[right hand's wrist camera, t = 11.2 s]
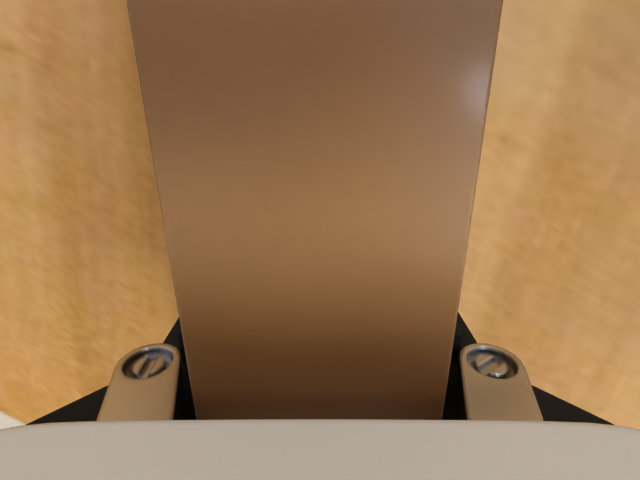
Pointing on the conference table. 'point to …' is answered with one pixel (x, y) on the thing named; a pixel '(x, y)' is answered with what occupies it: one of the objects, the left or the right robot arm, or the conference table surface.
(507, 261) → the conference table surface
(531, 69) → the conference table surface
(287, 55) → the beam
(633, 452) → the right robot arm
